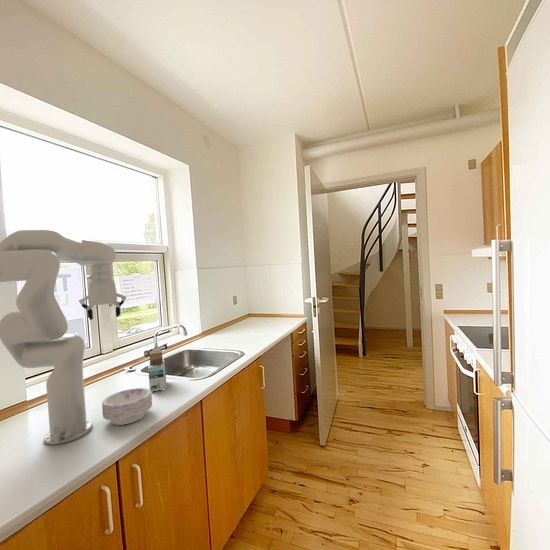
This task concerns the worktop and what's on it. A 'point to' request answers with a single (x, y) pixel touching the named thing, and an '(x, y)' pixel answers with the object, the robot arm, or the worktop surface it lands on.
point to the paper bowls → (127, 405)
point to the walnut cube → (156, 357)
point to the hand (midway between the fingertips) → (104, 318)
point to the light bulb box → (157, 377)
